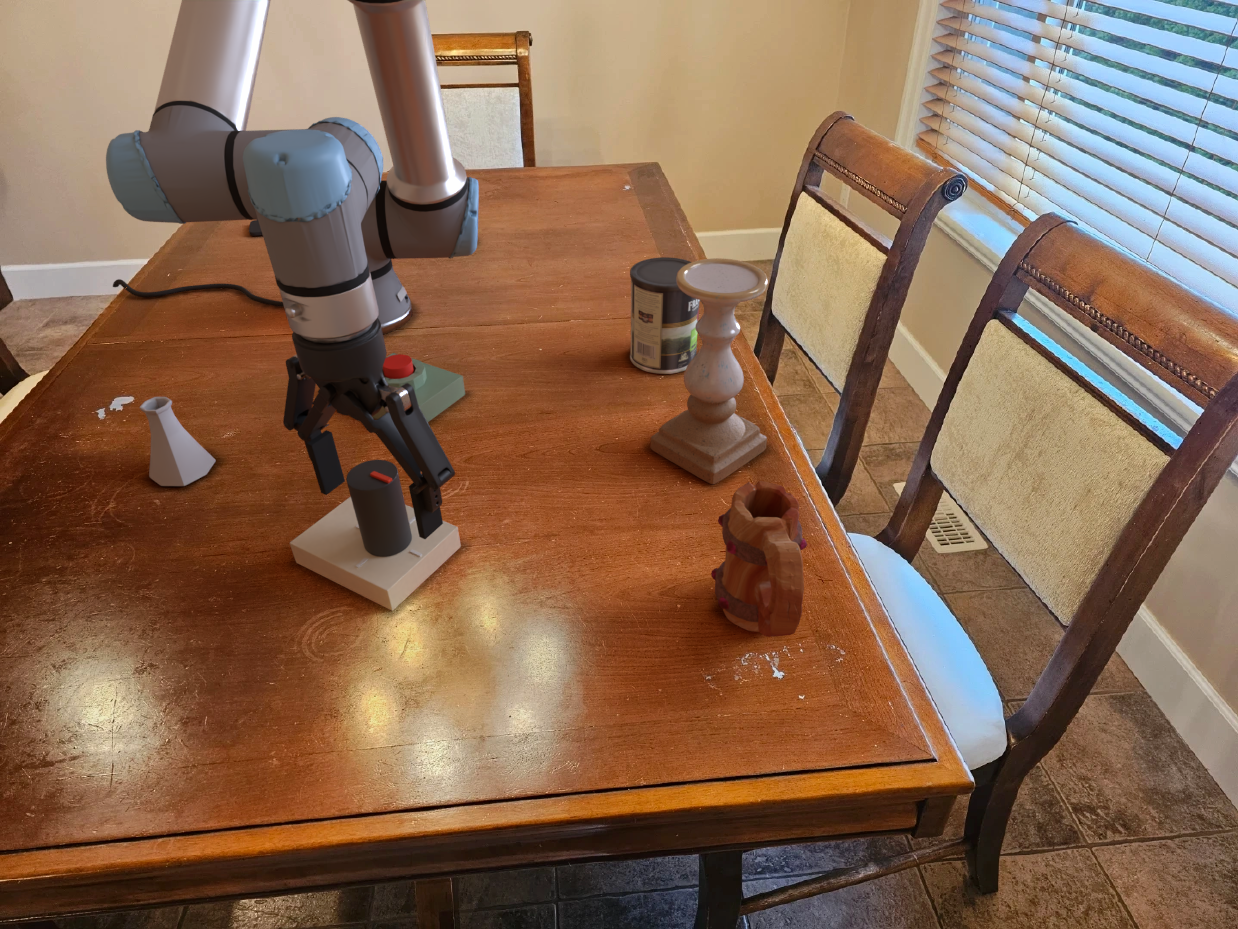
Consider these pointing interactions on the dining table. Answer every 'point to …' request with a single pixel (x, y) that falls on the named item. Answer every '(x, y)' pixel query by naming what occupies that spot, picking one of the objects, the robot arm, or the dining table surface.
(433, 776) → the dining table surface
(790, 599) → the mug
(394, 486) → the knob
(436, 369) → the block
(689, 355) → the coffee can
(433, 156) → the robot arm
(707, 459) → the candle holder
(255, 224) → the phone
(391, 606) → the dial panel
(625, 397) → the dining table surface
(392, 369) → the power button
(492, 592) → the dining table surface
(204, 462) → the flask
